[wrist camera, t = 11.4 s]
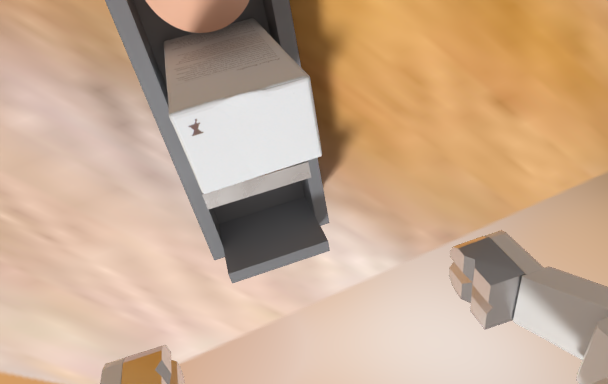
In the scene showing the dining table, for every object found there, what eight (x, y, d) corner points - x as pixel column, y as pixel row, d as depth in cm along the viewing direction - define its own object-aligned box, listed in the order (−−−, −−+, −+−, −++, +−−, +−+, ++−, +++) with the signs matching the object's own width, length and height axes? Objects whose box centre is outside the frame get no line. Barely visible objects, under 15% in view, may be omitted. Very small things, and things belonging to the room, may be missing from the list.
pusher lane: (250, -150, 23) (280, -170, 18) (317, 195, 37) (345, 245, 32) (65, -113, 22) (33, -122, 16) (206, 230, 36) (215, 289, 30)
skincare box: (185, 102, 29) (199, 198, 19) (162, 39, 26) (164, 112, 16) (271, 78, 29) (325, 159, 20) (256, 15, 27) (310, 71, 17)
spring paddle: (285, 123, 31) (308, 161, 26) (288, 137, 32) (311, 177, 27) (195, 149, 30) (202, 194, 25) (200, 163, 31) (207, 209, 26)
